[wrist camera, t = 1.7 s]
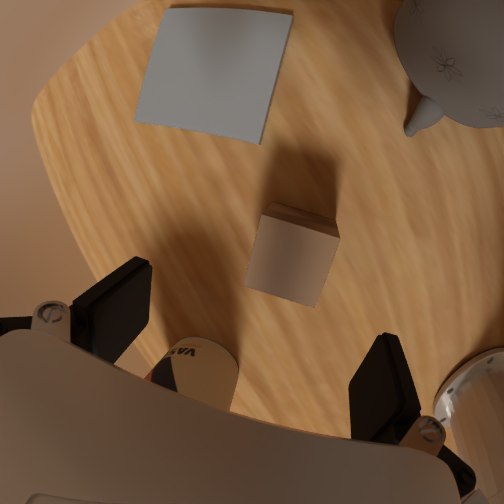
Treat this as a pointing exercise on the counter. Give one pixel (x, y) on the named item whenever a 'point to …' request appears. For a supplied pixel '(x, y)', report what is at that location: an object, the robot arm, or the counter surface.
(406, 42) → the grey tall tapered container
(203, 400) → the coffee cup
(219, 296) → the counter surface
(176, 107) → the plate
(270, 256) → the walnut cube
